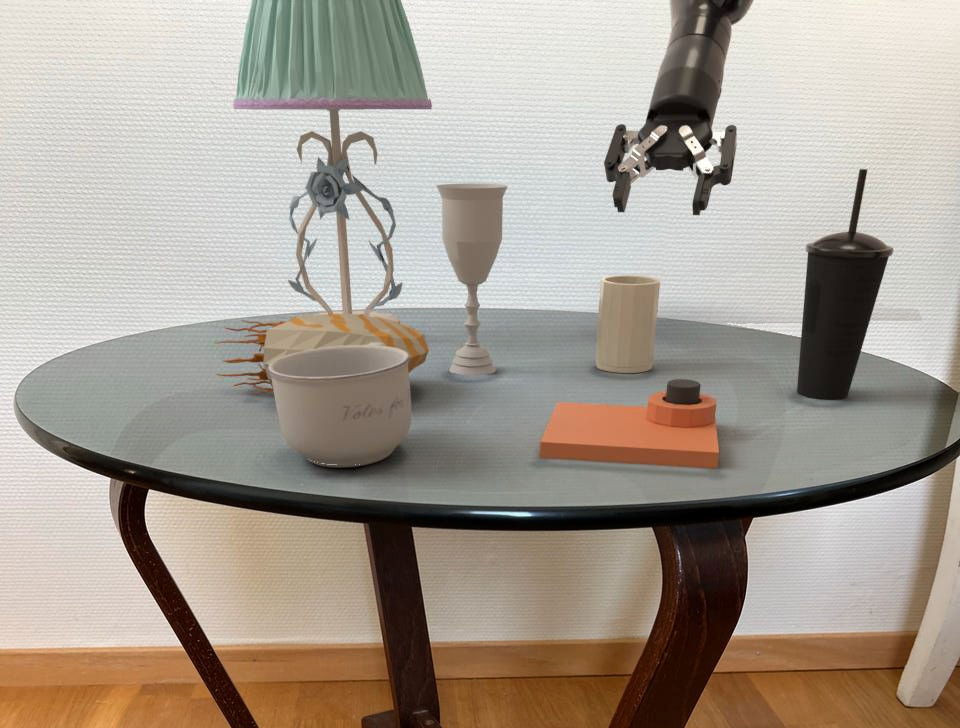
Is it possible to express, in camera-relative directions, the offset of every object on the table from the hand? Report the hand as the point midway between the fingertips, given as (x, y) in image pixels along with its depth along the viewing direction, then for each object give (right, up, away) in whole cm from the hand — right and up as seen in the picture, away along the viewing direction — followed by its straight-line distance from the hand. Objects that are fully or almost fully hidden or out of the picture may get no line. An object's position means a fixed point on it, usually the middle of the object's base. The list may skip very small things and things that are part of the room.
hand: (657, 208), depth 105 cm
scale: (-7, -31, -25) cm, 41 cm away
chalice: (-21, -19, -3) cm, 28 cm away
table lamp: (-36, -11, +11) cm, 39 cm away
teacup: (-30, -33, -27) cm, 52 cm away
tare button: (-3, -28, -24) cm, 37 cm away
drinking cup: (+14, -24, -11) cm, 30 cm away
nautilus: (-36, -24, -11) cm, 44 cm away
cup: (-4, -18, -2) cm, 19 cm away
